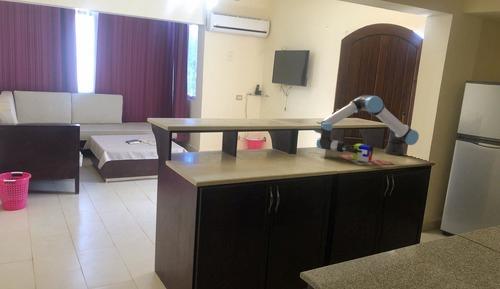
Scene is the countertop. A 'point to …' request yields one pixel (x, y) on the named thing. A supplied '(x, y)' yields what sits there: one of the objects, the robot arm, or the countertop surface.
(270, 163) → the countertop surface
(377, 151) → the countertop surface
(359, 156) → the puzzle toy
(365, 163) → the board
